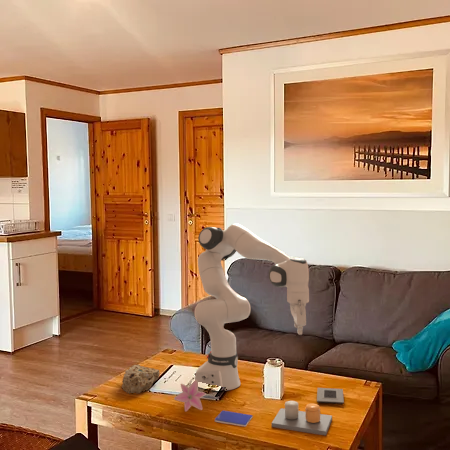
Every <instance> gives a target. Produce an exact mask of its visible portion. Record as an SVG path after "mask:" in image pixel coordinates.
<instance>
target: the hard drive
mask: <svg viewBox="0 0 450 450" xmlns="http://www.w3.org/2000/svg"><path fill="white" fill-rule="evenodd" d="M253 417H254V416H253V415H252V414H247V413H246V414H245V413H240V412H234V411H228V410H222V411H220V413H218V415H217V416H216V417H215V418H214V422H216V423H221V424H227V425H233V426H239V427H247V425H248V424H249V423H250V421H251V420H252V418H253Z"/></svg>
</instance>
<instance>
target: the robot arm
mask: <svg viewBox="0 0 450 450" xmlns="http://www.w3.org/2000/svg"><path fill="white" fill-rule="evenodd" d="M197 240H198V244H199V245H200V246H201V247H202V248H203V249H205V251H203V252H201V253H200V254H199V255H198V258H197V268H198V273H199V277H200V281H201V284H202V288H203V290H204V292H205V293H206V294H207V295H209V296H211V297H214V298H215V299H207V300H204V301H200V302H198V303H197V304H196V306H195V307H194V318H195V320H196V322H197V323H198V324H199V325H201V326H202V327H204V329H205V330H206V331H207V333H208V334H209V339H210V347H211V348H210V349H211V350H210V351H209V353H208V354H207V355H206V358H205V359H206V360H207V361H205V362H204V363H203V364H202V365H200V366H199V367H198V368H197V369H196V371H195V376H194V377H195V380H197V381H198V382H202V383H206V384H210V385H217V386H221V387H226V389H227V390H226V391H231V390H234V389H237V388H239V387H240V386H241V380H240V377H239V372H238V371H239V370H238V365H239V364H238V361H239V360H238V359H239V357H238V352H237V338H236V335H235V334H234V333H233V332H232V331H231V330H228V329H225V328H224V326H225V324H228V323H229V324H230V323H236V322H240V321H243V320H245V319H247V318H249V316H250V315H251V304H250V301H249V300H248V299H247V298H246V297H244V296H242V295H240V294H239V293H238V292H236V291H235V290H234V289H233V288H232V287H231V286H230V283H229V282H228V280H227V277H226V274H225V270H224V268H223V266H222V265H223V264H222V261H223V262H224V261H227V260H228V259H229V258H231V257H233V256H234V255H235V254H236V253H238V255H240V256H241V257H244V258H246V259H248V260H265V261H269V262H272V263H274V265H272V266H271V267H269V271H268V279H269V282H270V283H271V284H272V285H273V286H274V287H278V288H283V287H286V288H287V289H286V301H287V303H289V309H290V313H291V314H290V315H292V317H293V322H294V328H295V329H297V334H298V335H300V336H302V335H303V331H304V330H303V329H304V327H305V326H306V325H307V316H306V315H307V310H306V307H307V304H308V303H309V302H310V288H309V281H310V272H309V271H310V270H309V265H308V262H307V260H306V259H305V258H303V257H301V256H300V257H299V256H291V255H289V254H287V253H286V252H284V250H283V251H282V250H281V249H279V248H278V247H276V246H274V245H273V244H271V243H269V242H267V241H266V240H264V239H262V238H261V237H259V236H258V235H256V234H255V233H253V231H251V230H249V228H247V227H245V226H244V225H242V224H240V223H233V224H231V225H229V226H228V227H227V228H226V229H225V230H224V229H222V227H215V226H214V227H213V226H208V227H207V226H206V227H204V228H203V229H202V230H201V231H200V232H199V233H198V239H197Z"/></svg>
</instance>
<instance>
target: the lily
mask: <svg viewBox="0 0 450 450" xmlns="http://www.w3.org/2000/svg"><path fill="white" fill-rule="evenodd" d="M180 389H181V391H182V392H181V393H179V394H176V396H174V398H173V399H174V401H178V402H180V403H181V402H182V403H183V404H184V412H188V411H189V409H190V408H191V407H194V408H196V409H197V410H199V411H202V410H203V404H202V402H201V401H202V400H201V398H203V397H204V396H206V395H207V393H206V392H203V391H200V390H199V388H198V381H197V380H195V381H194V382H193V383H192V384H191V385H190V384H189V386H187V385H185V384H183V383H180Z"/></svg>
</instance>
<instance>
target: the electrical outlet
mask: <svg viewBox="0 0 450 450" xmlns="http://www.w3.org/2000/svg"><path fill="white" fill-rule="evenodd" d="M316 392H317V393H316V402H317V403H320V404H321V403H322V404H344V403H345V401H344V389H343V388H329V387H327V388H326V387H317V391H316Z"/></svg>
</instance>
